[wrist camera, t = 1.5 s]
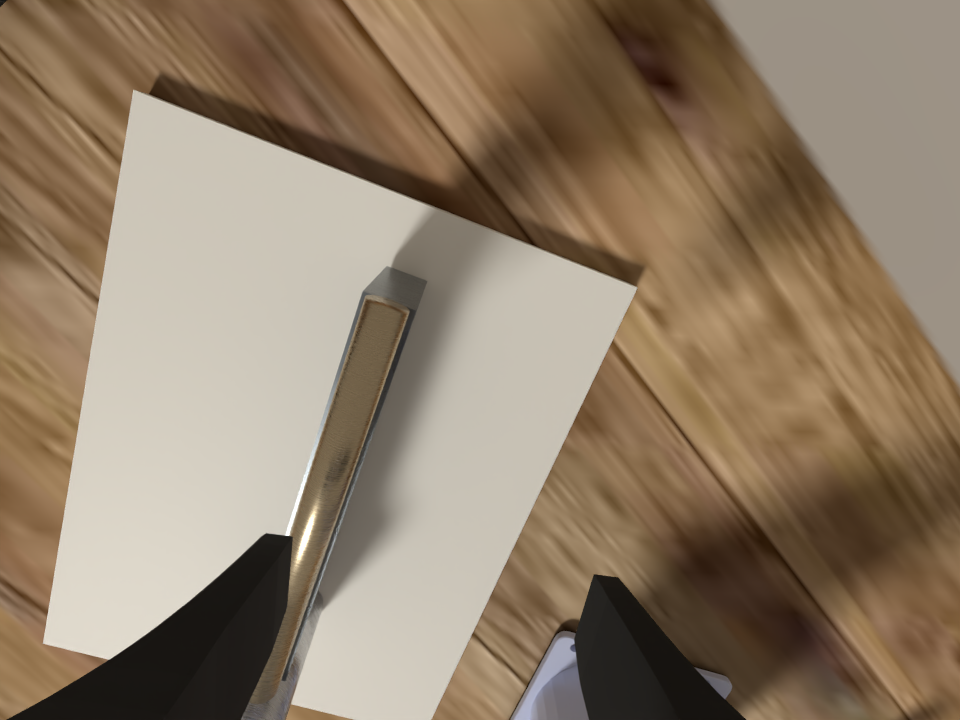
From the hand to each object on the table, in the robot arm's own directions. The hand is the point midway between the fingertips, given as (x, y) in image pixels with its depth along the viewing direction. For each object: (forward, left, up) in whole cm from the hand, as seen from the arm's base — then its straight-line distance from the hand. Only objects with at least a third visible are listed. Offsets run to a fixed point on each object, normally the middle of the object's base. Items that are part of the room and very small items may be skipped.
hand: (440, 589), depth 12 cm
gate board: (+4, +4, -10) cm, 11 cm away
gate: (+3, +2, -8) cm, 9 cm away
